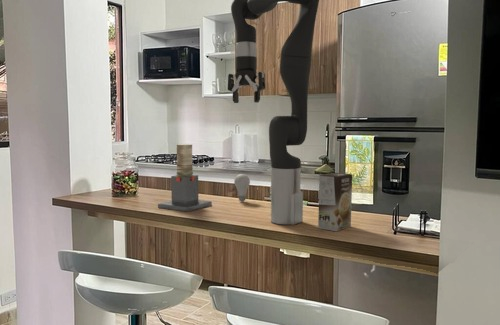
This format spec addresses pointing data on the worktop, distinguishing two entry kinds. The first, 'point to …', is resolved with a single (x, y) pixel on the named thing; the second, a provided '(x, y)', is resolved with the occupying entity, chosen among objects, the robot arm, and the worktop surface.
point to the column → (184, 160)
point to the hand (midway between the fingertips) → (246, 102)
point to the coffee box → (335, 201)
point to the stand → (184, 195)
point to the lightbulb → (242, 185)
